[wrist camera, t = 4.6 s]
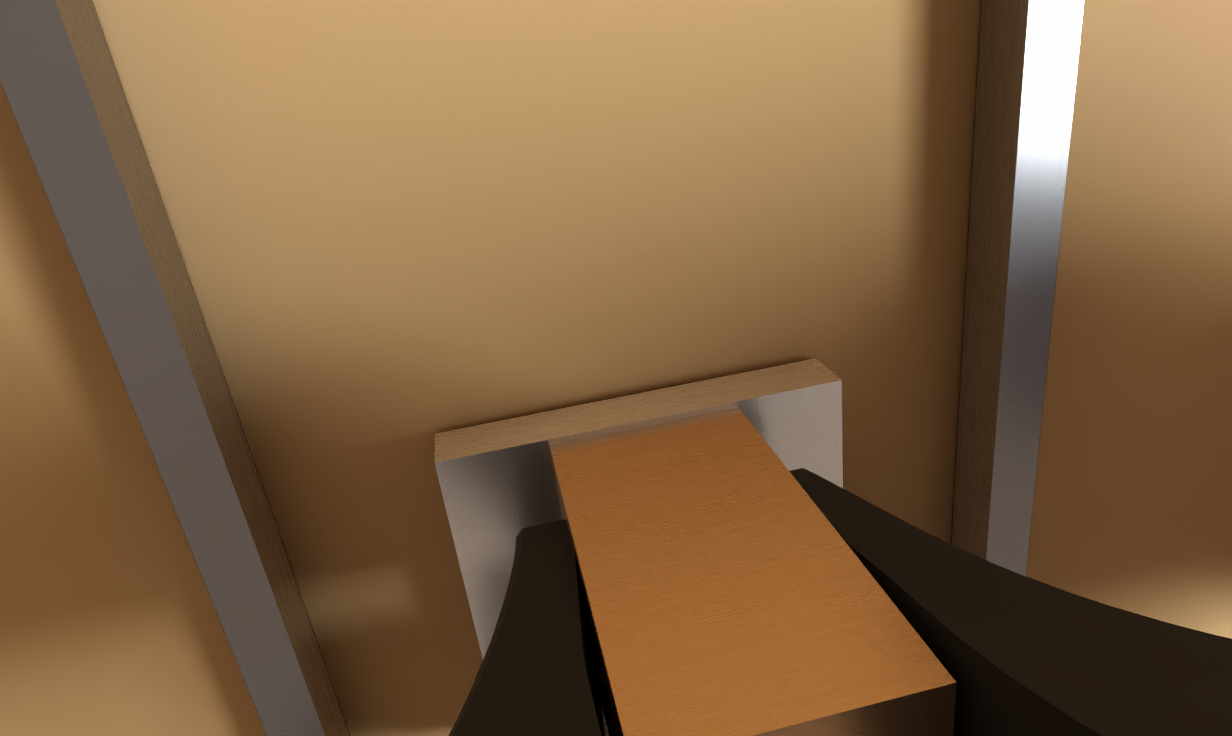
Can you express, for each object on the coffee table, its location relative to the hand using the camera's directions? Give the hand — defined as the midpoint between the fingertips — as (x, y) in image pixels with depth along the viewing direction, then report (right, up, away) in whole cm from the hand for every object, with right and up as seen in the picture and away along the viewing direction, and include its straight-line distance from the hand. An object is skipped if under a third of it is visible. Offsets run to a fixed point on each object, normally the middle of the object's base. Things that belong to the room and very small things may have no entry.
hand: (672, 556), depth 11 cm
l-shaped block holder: (0, 0, +2) cm, 2 cm away
